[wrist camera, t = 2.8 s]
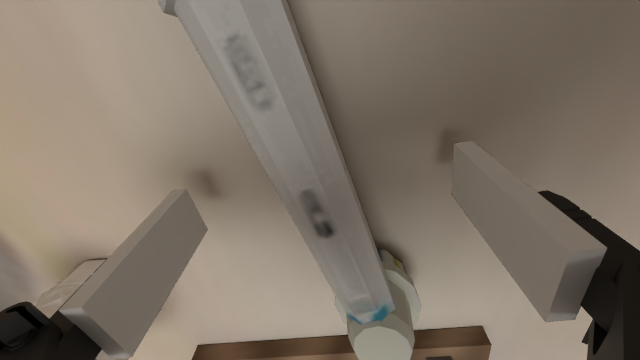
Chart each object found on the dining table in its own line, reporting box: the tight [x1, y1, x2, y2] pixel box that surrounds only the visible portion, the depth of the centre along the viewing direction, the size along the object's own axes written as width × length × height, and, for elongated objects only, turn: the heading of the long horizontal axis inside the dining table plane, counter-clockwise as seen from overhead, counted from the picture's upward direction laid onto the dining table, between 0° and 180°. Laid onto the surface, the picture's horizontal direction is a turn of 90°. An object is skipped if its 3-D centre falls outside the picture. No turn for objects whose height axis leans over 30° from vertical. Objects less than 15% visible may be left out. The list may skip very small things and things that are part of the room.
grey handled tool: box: [158, 0, 421, 360], centre depth 14 cm, size 5×7×25 cm
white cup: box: [32, 259, 130, 360], centre depth 18 cm, size 8×8×10 cm
